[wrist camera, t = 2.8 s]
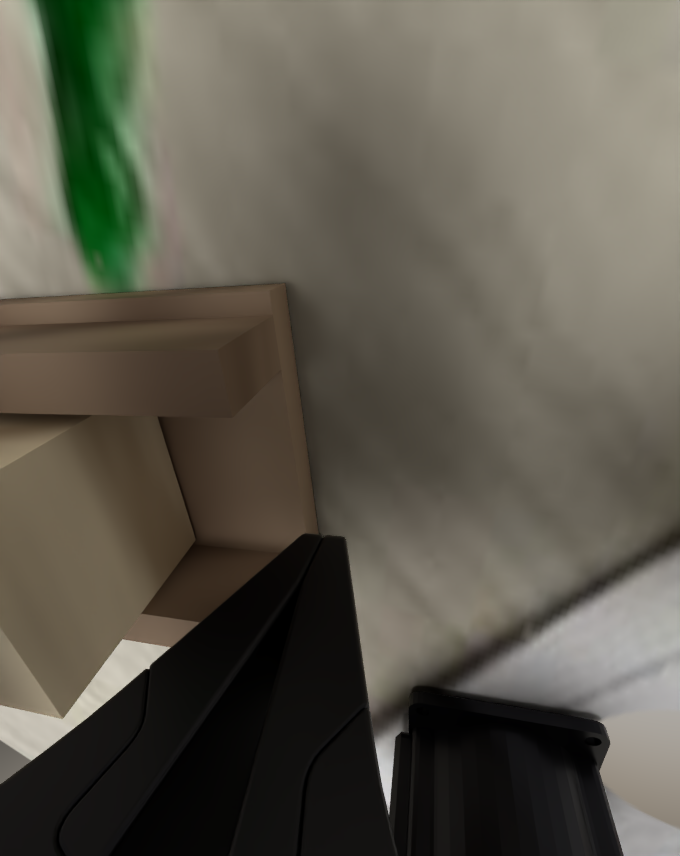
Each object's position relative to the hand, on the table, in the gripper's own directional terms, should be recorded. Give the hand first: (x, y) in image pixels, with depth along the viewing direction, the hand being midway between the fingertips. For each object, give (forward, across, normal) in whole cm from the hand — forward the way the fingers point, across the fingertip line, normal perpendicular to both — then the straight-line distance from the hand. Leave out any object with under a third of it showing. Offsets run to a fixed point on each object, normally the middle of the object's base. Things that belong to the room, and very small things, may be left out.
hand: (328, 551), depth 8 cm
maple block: (+2, +7, 0) cm, 8 cm away
